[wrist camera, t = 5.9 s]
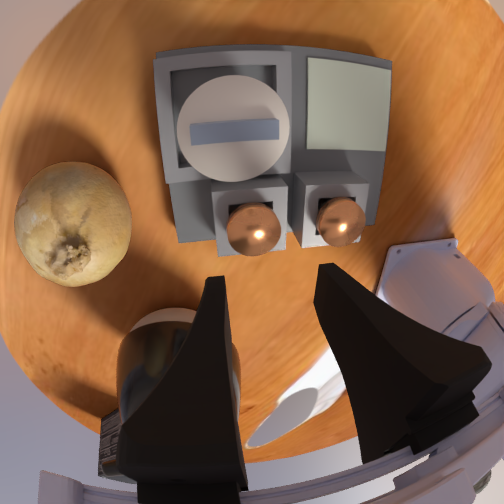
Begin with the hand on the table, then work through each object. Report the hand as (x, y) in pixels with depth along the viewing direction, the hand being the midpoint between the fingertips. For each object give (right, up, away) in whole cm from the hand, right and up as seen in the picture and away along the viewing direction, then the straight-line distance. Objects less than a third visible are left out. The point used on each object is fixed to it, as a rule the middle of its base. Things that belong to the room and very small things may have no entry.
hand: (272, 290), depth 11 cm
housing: (+1, +9, +6) cm, 10 cm away
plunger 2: (+4, +4, +6) cm, 9 cm away
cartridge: (-2, +9, +3) cm, 10 cm away
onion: (-12, +5, +6) cm, 15 cm away
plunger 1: (-1, +4, +6) cm, 7 cm away
